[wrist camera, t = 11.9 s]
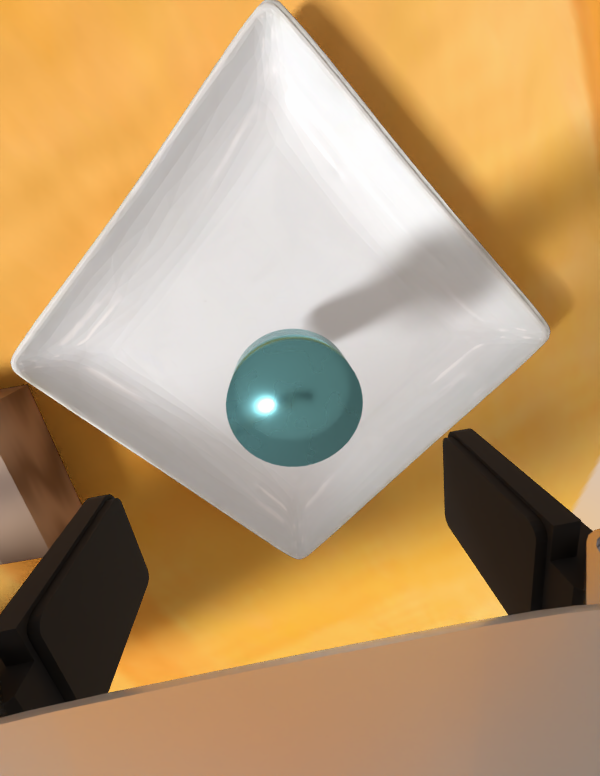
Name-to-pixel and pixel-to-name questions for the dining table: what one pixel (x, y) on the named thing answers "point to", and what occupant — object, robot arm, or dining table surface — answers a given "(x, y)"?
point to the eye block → (30, 481)
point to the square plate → (279, 291)
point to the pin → (293, 398)
